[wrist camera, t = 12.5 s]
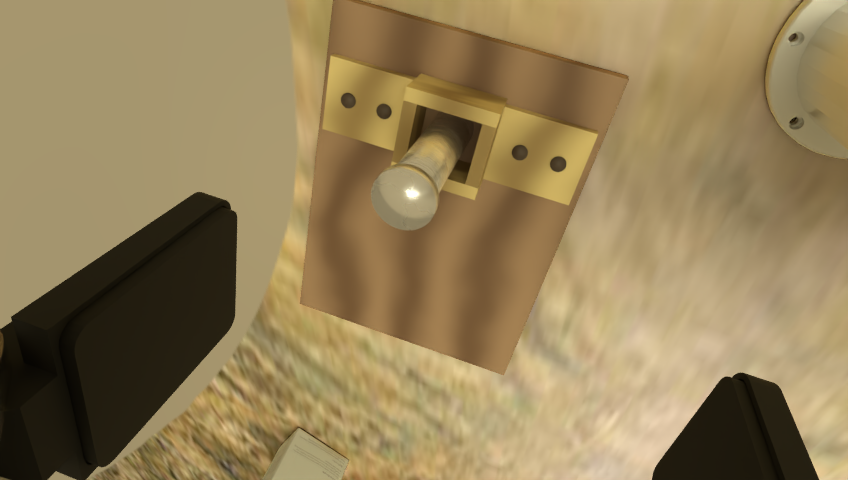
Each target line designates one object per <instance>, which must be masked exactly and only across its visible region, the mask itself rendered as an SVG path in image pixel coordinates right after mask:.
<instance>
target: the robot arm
mask: <svg viewBox="0 0 848 480" xmlns="http://www.w3.org/2000/svg"><path fill="white" fill-rule="evenodd" d="M793 33H795V34H796V38H795V39H794V40H792V41H789V40H788V39H789V37H790V35H791V34H793ZM765 85H766V96H767V100H768V104H769V108H770V111H771V112H772V114H773V116H774V118H775V119H776V121H777V123H778V124H779V126H780V127H781V128H782V129H783V130H784V131H785V132H786V133H787V134H788V135H789V136H790V137H791V138H792V139H794V140H795V141H796V142H797V143H798V144H800V145H801V146H803V147H805V148H807V149H809V150H811V151H813V152H815V153H818V154H822V155H825V156H829V157H832V158H840V159H848V0H804V1H803V2H802V3H801V4H800V5H799V7H798V8H797V9H796V10H795V11H794V12H793V14H792V15H791V16H790V17H789V18H788V20H787V21H786V23H785V25H784V26H783V28H782V30H781V31H780V33H779V35H778V36H777V38H776V40H775V43H774V45H773V48H772V50H771V53H770V56H769V59H768V64H767V69H766V75H765ZM795 117H796V120H795V121H794V122H792V123H789V122H790V121H791V120H792V119H793V118H795ZM236 248H237V215H236V213H235V212H234V211H232V210H231V207H230V204H229V202H227V201H226V200H223V199H220V198H217V197H214V196H211V195H208V194H205V193H202V192H197V193H195V194H193V195H191V196H190V197H188V198H187V199H185V200H184V201H182V202H181V203H180V204H178V205H176V206H175V207H174V208H172V209H171V210H169V211H168V212H166V213H165V214H163V215H162V216H160V217H159V218H157V219H156V220H154V221H153V222H151V223H150V224H148V225H147V226H145V227H144V228H142V229H141V230H139V231H138V232H136V233H135V234H133V235H132V236H130V237H129V238H127V239H126V240H125V241H123V242H122V243H120V244H119V245H117V246H116V247H114V248H113V249H111V250H110V251H108V252H107V253H105V254H104V255H102V256H101V257H99V258H98V259H96V260H95V261H93V262H92V263H90V264H89V265H87V266H86V267H85V268H83V269H82V270H80V271H78V272H77V273H76V274H74V275H73V276H71V277H70V278H68V279H67V280H65V281H64V282H62V283H61V284H59V285H58V286H56V287H55V288H53V289H52V290H50V291H49V292H47V293H46V294H44V295H43V296H41V297H40V298H39V299H37V300H35V301H34V302H32V303H31V304H29V305H28V306H27V307H25V308H24V309H22V310H21V311H19V312H18V313H16V314H15V315H13V316H12V317H11V318H12V322H11V323H9V324H8V325H6V326H5V327H3V328H2V329H0V480H47V479H48V478H49V477H50V476H51V475H52V474H53V473H54V472H55V471H57V472H60V473H62V474H64V475H67V476H69V477H72V478H75V479H77V480H86V479H87V478H88V477H89V476H90V474H91V473H92V472H93V471H94V470H95V469H96V468H97V467H98V466H100V467H105V466H107V465H108V464H110V463H111V462H112V461H113V460H114V459H115V458H116V457H117V456H118V454H119V453H120V452H121V451H122V450H123V449H124V448H125V447H126V446H127V444H128V443H129V442H130V441H131V440H132V439H133V438H134V437H135V435H136V434H137V433H138V432H139V431H140V430H141V429H142V428H143V426H144V425H145V424H146V423H147V422H148V421H149V420H150V419H151V418H152V416H153V415H154V414H155V413H156V412H157V411H158V410H159V408H160V407H161V406H162V405H163V404H164V403H165V402H166V401H167V399H168V398H169V397H170V396H171V395H172V394H173V392H175V391H176V389H177V388H178V387H179V386H180V385H181V384H182V383H183V382H184V380H185V379H186V378H187V377H188V376H189V375H190V374H191V373H192V371H193V370H194V369H195V368H196V367H197V366H198V365H199V364H200V362H201V361H202V360H203V359H204V358H205V357H206V356H207V355H208V354H209V352H210V351H211V350H212V349H213V348H214V347H215V346H216V345H217V343H218V342H219V341H220V340H221V339H222V338H223V337H224V336H225V334H226V333H227V332H228V331H229V329H230V328H231V326H232V323H233V321H234V318H235V296H236ZM652 480H819V478H818V476H817V473H816V471H815V469H814V466H813V464H812V462H811V459H810V457H809V455H808V452H807V450H806V447H805V445H804V443H803V440H802V438H801V436H800V433H799V431H798V429H797V426H796V424H795V422H794V419H793V417H792V414H791V412H790V410H789V407H788V405H787V403H786V400H785V398H784V396H783V393H782V391H781V389H780V388H779V386H778V385H776V384H775V383H772V382H769V381H766V380H763V379H760V378H757V377H754V376H751V375H748V374H745V373H737V374H735V375H734V376H733V377H732V378H731V377H724V378H722V379H721V380H720V381H719V383H718V384H717V385H716V387H715V388H714V389H713V391H712V392H711V393H710V395H709V396H708V397H707V399H706V400H705V401H704V403H703V404H702V405H701V407H700V408H699V409H698V411H697V412H696V413H695V415H694V416H693V417H692V419H691V420H690V421H689V423H688V424H687V425H686V427H685V428H684V429H683V431H682V432H681V433H680V435H679V436H678V437H677V439H676V440H675V441H674V443H673V444H672V445H671V447H670V448H669V449H668V451H667V452H666V453H665V455H664V456H663V457H662V459H661V460H660V461H659V463H658V464H657V466H656V467H655V470H654V472H653V477H652Z"/></svg>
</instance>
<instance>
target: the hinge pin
mask: <svg viewBox="0 0 848 480" xmlns="http://www.w3.org/2000/svg"><path fill="white" fill-rule="evenodd" d="M473 131H474V127H473V123H472V121H471V120H468V119H464V118H461V117H458V116H454V115H451V114H448V113H444V112H440V113H439V114H438V115H437V116H436V118H435V119H434V120H433V121H432V122H431V124H430V125H429V126H428V127H427V128H426V130H425V131H424V132H423V133H422V135H421V136H420V137H419V138H418V139H417V141H416V142H415V143H414V144H413V146H412V147H411V148H410V149H409V150H408V152H407V153H406V154H405V155H404V157H403V158H402V159H401V160H400V161H399V163H398V164H395V165H392V166H389V167H388V168H386V169H385V170H384V171H383V172H382V173H381V174H380V175H379V176H378V177H377V179H376V180H375V181H374V183H373V186H372V189H371V201H372V204H373V207H374V209H375V211H376V213H377V214H378V215H379V217H380V218H381V219H382V220H383V221H385V222H386V223H387V224H389V225H390V226H392V227H395V228H397V229H401V230H416V229H419V228H422V227H424V226H425V225H426V224H428V223H429V222H430V221H431V219H432V218H433V216H434V214H435V212H436V210H437V208H438V205H439V192H440V191H441V189H442V187H443V185H444V184H445V182H446V180H447V179H448V177H449V175H450V174H451V172H452V170H453V168H454V167H455V165H456V163H457V162H458V160H459V158H460V156H461V155H462V153H463V151H464V150H465V148H466V146H467V145H468V143H469V141H470V139H471V138H472V135H473Z"/></svg>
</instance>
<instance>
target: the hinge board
mask: <svg viewBox="0 0 848 480" xmlns="http://www.w3.org/2000/svg"><path fill="white" fill-rule="evenodd" d="M628 80H629V79H628V76H626V75H623V74H619V73H616V72H612V71H609V70H605V69H601V68H598V67H594V66H591V65H587V64H584V63H580V62H577V61H573V60H569V59H566V58H562V57H559V56H555V55H552V54H548V53H545V52H541V51H537V50H534V49H530V48H527V47H523V46H520V45H516V44H513V43H509V42H505V41H502V40H498V39H495V38H491V37H488V36H484V35H481V34H477V33H473V32H470V31H466V30H463V29H459V28H456V27H452V26H449V25H445V24H441V23H438V22H434V21H431V20H427V19H424V18H420V17H416V16H413V15H409V14H406V13H402V12H399V11H395V10H392V9H388V8H384V7H381V6H377V5H374V4H370V3H367V2H363V1H360V0H333V6H332V15H331V24H330V34H329V43H328V52H327V61H326V70H325V80H324V89H323V98H322V107H321V116H320V125H319V135H318V144H317V153H316V162H315V171H314V180H313V190H312V199H311V208H310V217H309V226H308V236H307V245H306V254H305V263H304V272H303V281H302V291H301V300H300V304H302V305H305V306H308V307H311V308H314V309H316V310H319V311H322V312H325V313H328V314H331V315H334V316H336V317H339V318H342V319H345V320H348V321H351V322H354V323H356V324H359V325H362V326H365V327H368V328H371V329H374V330H376V331H379V332H382V333H385V334H388V335H391V336H393V337H396V338H399V339H402V340H405V341H408V342H411V343H413V344H416V345H419V346H422V347H425V348H428V349H431V350H433V351H436V352H439V353H442V354H445V355H448V356H451V357H453V358H456V359H459V360H462V361H465V362H468V363H470V364H473V365H476V366H479V367H482V368H485V369H488V370H490V371H493V372H496V373H499V374H502V375H504V373H505V371H506V369H507V366H508V364H509V361H510V359H511V357H512V354H513V352H514V350H515V347H516V345H517V343H518V340H519V338H520V335H521V333H522V331H523V328H524V326H525V324H526V321H527V319H528V317H529V314H530V312H531V309H532V307H533V305H534V302H535V300H536V298H537V295H538V293H539V291H540V288H541V286H542V283H543V281H544V279H545V276H546V274H547V272H548V269H549V267H550V265H551V262H552V260H553V257H554V255H555V253H556V250H557V248H558V246H559V243H560V241H561V239H562V236H563V234H564V231H565V229H566V227H567V224H568V222H569V220H570V217H571V215H572V213H573V210H574V208H575V205H576V203H577V201H578V198H579V196H580V194H581V191H582V189H583V187H584V184H585V182H586V179H587V177H588V175H589V172H590V170H591V168H592V165H593V163H594V161H595V158H596V156H597V153H598V151H599V149H600V146H601V144H602V142H603V139H604V137H605V135H606V132H607V130H608V127H609V125H610V123H611V120H612V118H613V116H614V113H615V111H616V109H617V106H618V104H619V101H620V99H621V97H622V94H623V92H624V90H625V87H626V85H627V83H628ZM440 112H444V113H448V114H451V115H454V116H458V117H461V118H464V119H468V120H471V121H472V123H473V127H474V131H473V135H472V138H471V139H470V141H469V143H468V145H467V146H466V148H465V150H464V151H463V153H462V155H461V156H460V158H459V160H458V162H457V163H456V165H455V167H454V168H453V170H452V172H451V174H450V175H449V177H448V179H447V180H446V182H445V184H444V185H443V187H442V189H441V191H440V192H439V205H438V208H437V210H436V212H435V214H434V216H433V218H432V219H431V221H430V222H429V223H428V224H426V225H425V226H424V227H422V228H419V229H416V230H401V229H397V228H395V227H392V226H390V225H389V224H387V223H386V222H385V221H383V220H382V219H381V218H380V217H379V215H378V214H377V213H376V211H375V209H374V207H373V204H372V201H371V189H372V186H373V183H374V181H375V180H376V179H377V177H378V176H379V175H380V174H381V173H382V172H383V171H384V170H385V169H386V168H388V167H389V166H392V165H395V164H398V163H399V161H400V160H401V159H402V158H403V157H404V155H405V154H406V153H407V152H408V150H409V149H410V148H411V147H412V146H413V144H414V143H415V142H416V141H417V139H418V138H419V137H420V136H421V135H422V133H423V132H424V131H425V130H426V128H427V127H428V126H429V125H430V124H431V122H432V121H433V120H434V119H435V118H436V116H437V115H438V114H439V113H440Z"/></svg>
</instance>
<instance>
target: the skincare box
mask: <svg viewBox="0 0 848 480" xmlns="http://www.w3.org/2000/svg"><path fill="white" fill-rule="evenodd" d="M348 462H349V460H348V459H346V458H345V457H343V456H342V455H340V454H338V453H337V452H335V451H334V450H332V449H331V448H329V447H328V446H326V445H325V444H323V443H322V442H320V441H318V440H317V439H315V438H314V437H312V436H311V435H309V434H308V433H306V432H305V431H303V430H302V429H300V428H298V429H297V430H296V431H295V432H294V433H293V434H292V435H291V436H290V437H289V438H288V439H287V440H286V441H285V442H284V443H283V444H282V445H281V446H280V448H279V449H278V451H277V453H276V455H275V457H274V458H273V460H272V462H271V464H270V466H269V468H268V470H267V471H266V473H265V475H264V477H263V479H262V480H341V479H342V477H343V474H344V472H345V469H346V467H347V464H348Z"/></svg>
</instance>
